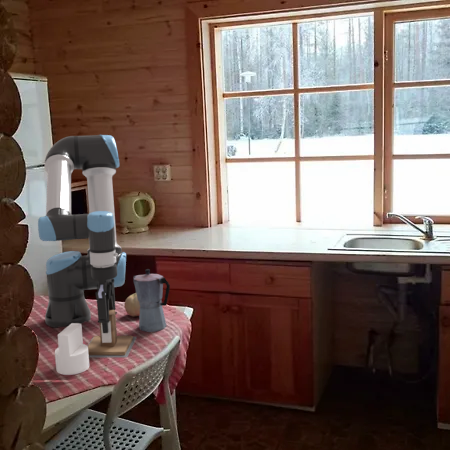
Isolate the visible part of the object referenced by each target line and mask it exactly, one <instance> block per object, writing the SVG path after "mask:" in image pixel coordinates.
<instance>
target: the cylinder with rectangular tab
mask: <svg viewBox="0 0 450 450" xmlns="http://www.w3.org/2000/svg"><path fill="white" fill-rule="evenodd" d="M83 339H84V338H83V327H82V323H81V324H79V323H71V324H70V325H69V326H67V327H64V329H63V330H62V331H60V332H59V333H58V334H57V342H58V343H57V344H58V347H57V348H55V350H54V357H55V359H54V360H55V370H56V372H57V373H58V374H61V375H64V376H71V375H77V374H81V373H84V372H85V371H87V370H89V368H90V358H89V354H88V344H85V343H84V340H83Z"/></svg>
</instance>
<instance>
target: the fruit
mask: <svg viewBox="0 0 450 450" xmlns="http://www.w3.org/2000/svg"><path fill="white" fill-rule="evenodd" d="M124 309H125V312H126V313H127V314H128V315H129V316H130V317H140V304H139V301H138V299H137V294H136V292H135V293H132V294H130V295H129V296H128V297H127V298H126V299H125V301H124Z"/></svg>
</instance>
